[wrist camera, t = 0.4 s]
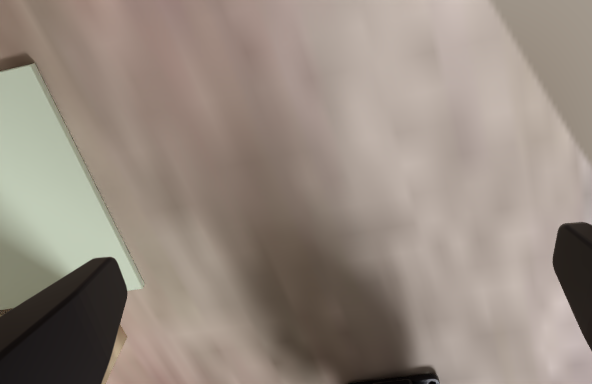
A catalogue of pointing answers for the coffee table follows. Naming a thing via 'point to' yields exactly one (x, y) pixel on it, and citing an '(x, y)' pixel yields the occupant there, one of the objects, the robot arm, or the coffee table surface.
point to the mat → (46, 196)
